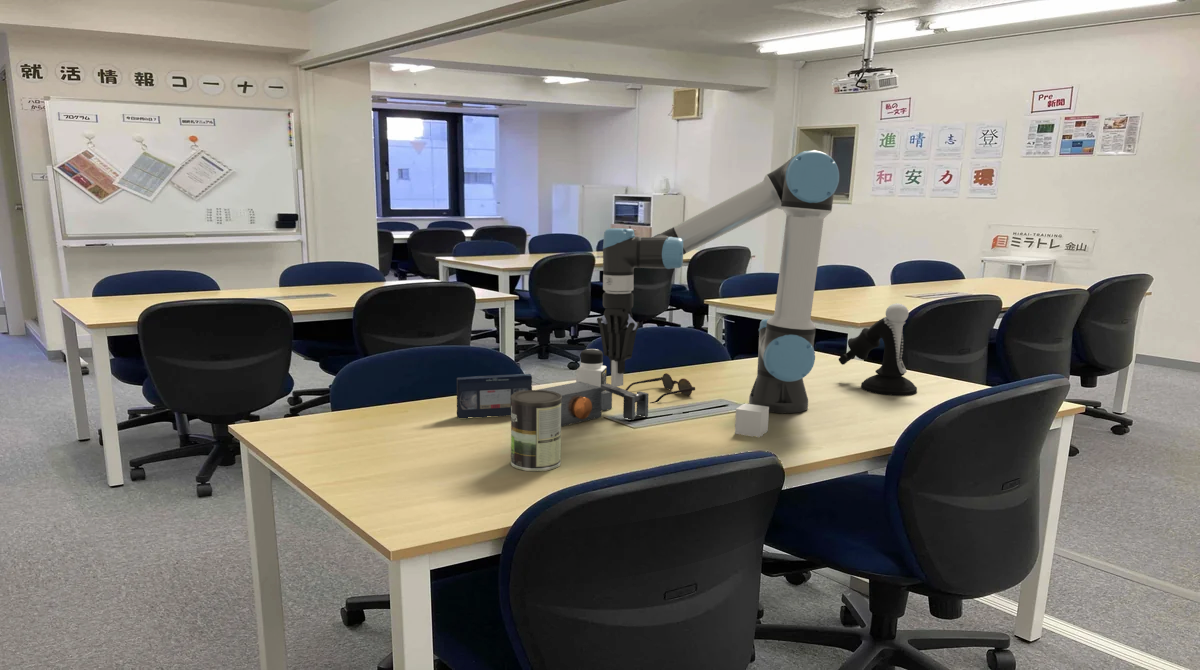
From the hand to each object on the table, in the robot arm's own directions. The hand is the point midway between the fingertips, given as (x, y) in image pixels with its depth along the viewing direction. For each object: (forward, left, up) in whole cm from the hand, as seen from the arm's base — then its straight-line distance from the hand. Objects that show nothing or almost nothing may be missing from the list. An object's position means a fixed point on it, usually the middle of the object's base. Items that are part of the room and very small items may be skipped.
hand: (617, 385), depth 205 cm
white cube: (-33, -12, -7) cm, 36 cm away
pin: (+4, +13, -6) cm, 15 cm away
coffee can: (-18, +40, -7) cm, 45 cm away
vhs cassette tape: (+17, +25, -7) cm, 31 cm away
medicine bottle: (+19, -9, -7) cm, 22 cm away
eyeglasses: (+6, -21, -8) cm, 23 cm away
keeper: (-2, 0, -2) cm, 3 cm away
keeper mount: (-2, 0, -7) cm, 7 cm away
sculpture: (-28, -78, -7) cm, 83 cm away
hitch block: (+3, +13, -7) cm, 15 cm away
